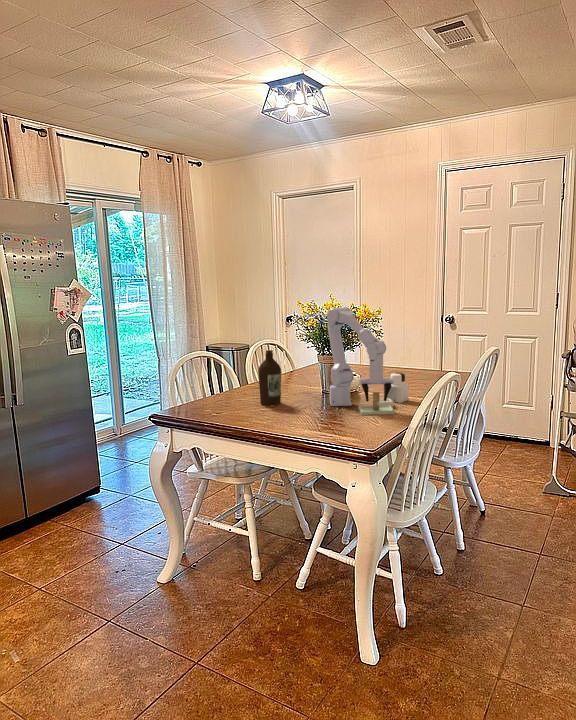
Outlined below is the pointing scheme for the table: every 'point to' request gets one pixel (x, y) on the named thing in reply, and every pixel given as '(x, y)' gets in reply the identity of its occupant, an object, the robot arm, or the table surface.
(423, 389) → the table surface
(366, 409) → the tray
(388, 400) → the square block with hole
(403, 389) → the container
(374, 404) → the dowel
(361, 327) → the robot arm
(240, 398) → the table surface
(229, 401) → the table surface
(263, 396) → the olive oil
